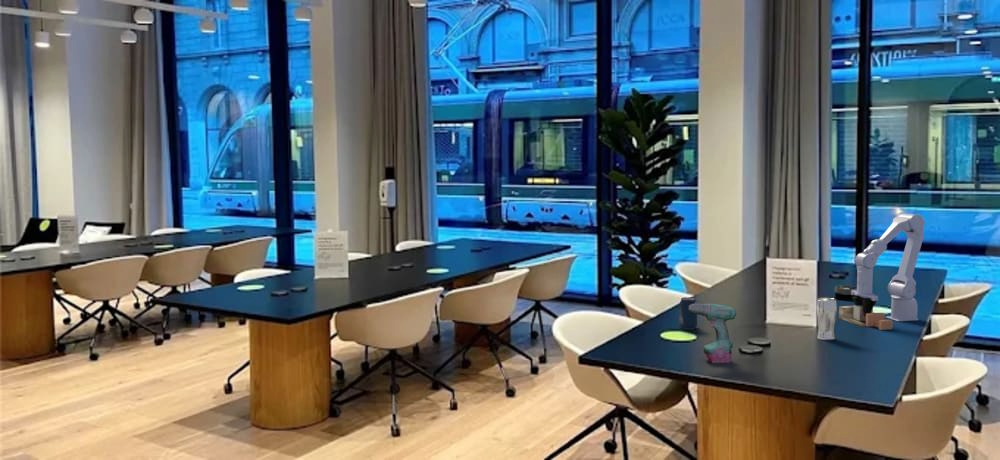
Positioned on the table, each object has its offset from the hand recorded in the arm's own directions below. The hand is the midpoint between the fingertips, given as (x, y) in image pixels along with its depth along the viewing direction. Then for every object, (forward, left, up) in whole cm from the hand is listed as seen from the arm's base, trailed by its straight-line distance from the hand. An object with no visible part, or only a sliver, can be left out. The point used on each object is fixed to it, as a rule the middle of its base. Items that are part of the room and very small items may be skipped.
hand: (863, 315), depth 327 cm
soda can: (+73, -9, -3) cm, 73 cm away
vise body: (0, -1, -3) cm, 3 cm away
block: (0, 0, -2) cm, 2 cm away
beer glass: (+31, +21, -3) cm, 37 cm away
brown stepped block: (0, +10, -3) cm, 11 cm away
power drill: (+86, +39, -3) cm, 94 cm away
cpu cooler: (-23, -46, -3) cm, 52 cm away
